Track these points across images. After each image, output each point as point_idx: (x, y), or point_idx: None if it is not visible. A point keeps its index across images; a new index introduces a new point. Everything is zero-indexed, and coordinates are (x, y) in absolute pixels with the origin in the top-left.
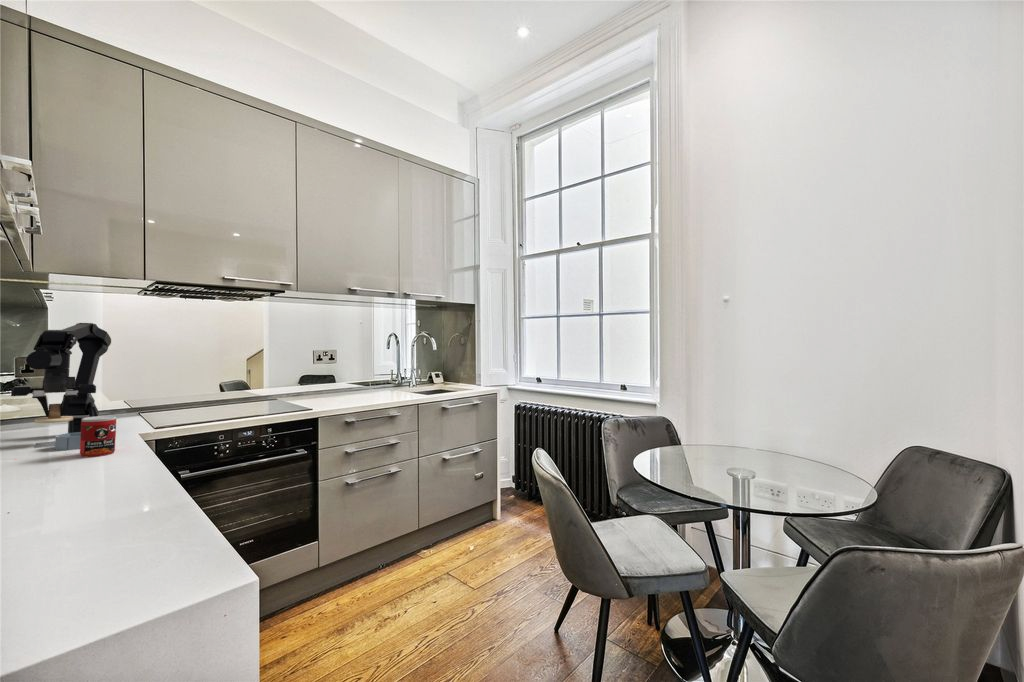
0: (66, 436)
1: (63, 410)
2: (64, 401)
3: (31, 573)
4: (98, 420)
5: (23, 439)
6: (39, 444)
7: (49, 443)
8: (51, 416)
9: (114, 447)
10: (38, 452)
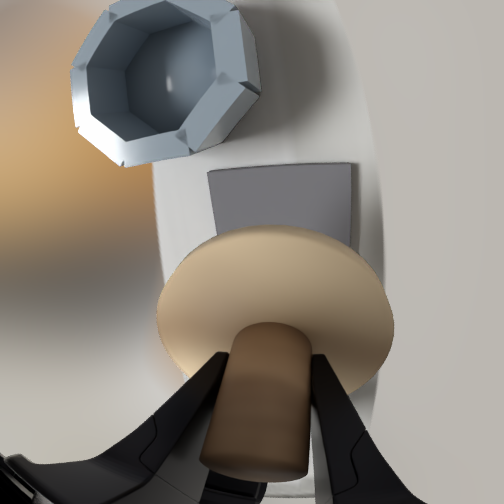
0: (183, 6)
1: (194, 384)
2: (147, 464)
3: None
4: None
5: (357, 409)
6: None
7: None
8: (289, 339)
9: None
10: (322, 69)
